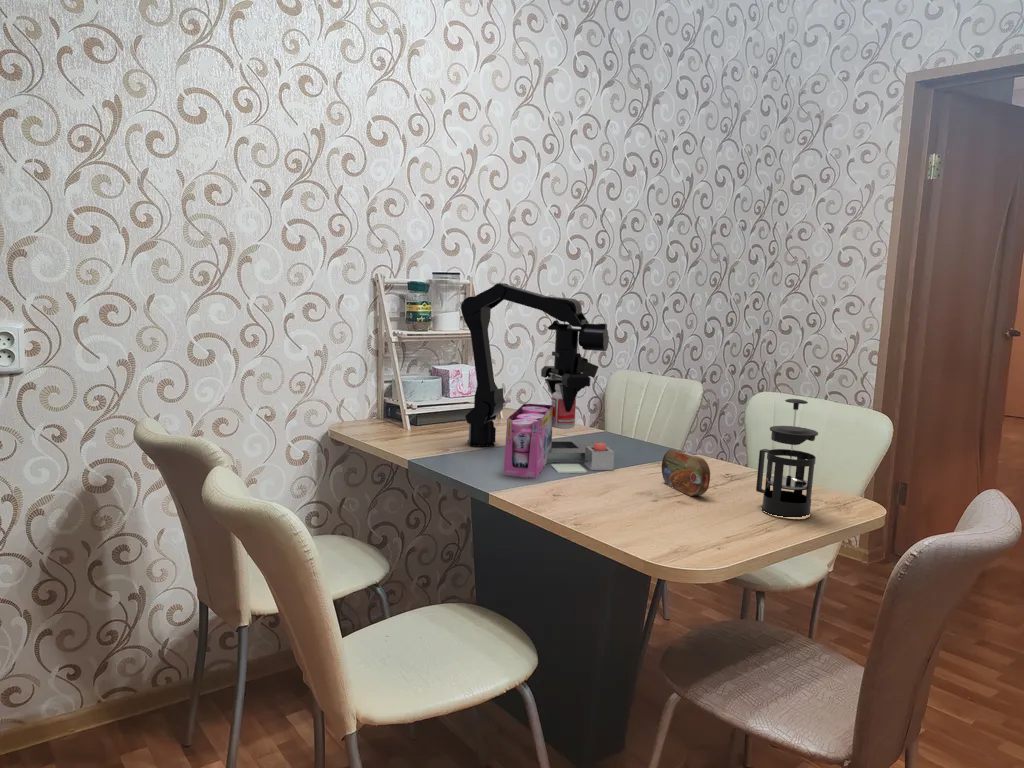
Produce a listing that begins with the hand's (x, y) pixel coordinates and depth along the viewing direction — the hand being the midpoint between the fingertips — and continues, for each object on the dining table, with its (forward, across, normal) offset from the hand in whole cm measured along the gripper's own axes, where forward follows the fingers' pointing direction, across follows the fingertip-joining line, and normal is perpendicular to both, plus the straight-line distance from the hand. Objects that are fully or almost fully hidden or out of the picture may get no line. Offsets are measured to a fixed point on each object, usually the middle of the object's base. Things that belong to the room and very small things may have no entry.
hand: (563, 409), depth 183 cm
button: (+9, -14, -4) cm, 17 cm away
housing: (+12, -14, -4) cm, 19 cm away
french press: (+12, -53, -27) cm, 60 cm away
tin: (+12, -35, -15) cm, 40 cm away
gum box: (+12, -8, +12) cm, 19 cm away
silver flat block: (+12, -2, -1) cm, 12 cm away
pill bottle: (+5, 0, 0) cm, 5 cm away
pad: (+12, -14, +4) cm, 19 cm away
